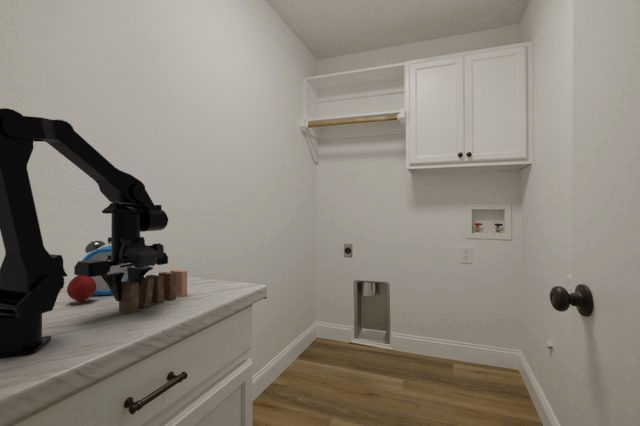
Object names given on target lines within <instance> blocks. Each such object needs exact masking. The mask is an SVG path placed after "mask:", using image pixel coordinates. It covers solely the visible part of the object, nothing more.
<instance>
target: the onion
mask: <svg viewBox="0 0 640 426" xmlns="http://www.w3.org/2000/svg"><path fill="white" fill-rule="evenodd" d="M95 290H96V283H95V281H94V279H93V278H91V277H86V276H80V275H75V276H74V277H73V278H72V279H71V280H70V281H69V283H68V284H67V288H66V292H67V295H68V296H69V298H71V299H72V300H73V301H76V302H79V303H85V302H86V301H87V300H88V299H89V298H91V297H93V296H92V295H93V294H94V292H95ZM94 295H95V294H94Z"/></svg>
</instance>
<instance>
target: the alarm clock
mask: <svg viewBox="0 0 640 426" xmlns="http://www.w3.org/2000/svg"><path fill="white" fill-rule="evenodd" d="M84 252H85V253H86V255H85V256H84V257H83V258H82V260H81V261H85V260H93V259H98V260H106V261H111V260H108V255H111V242H108V241H107V246H106V243H105V242H104V241H102V240H93V241H92V240H91V241H90V243H88V244H87V245H86V246H85V248H84ZM127 267H131V266H127ZM127 267H121V268H120V272H122V273H125V274H124V276H123V277H122V279H121V282H122V281H128V271H127ZM91 278H93V279H94V281H95V283H96V290H95V292H94V294H93V295H92V296H91V297H94V296H95V295H99V296H109V295H113V294H112V292H111V290H110V288H109V287H108V285H107V283H106V282H105V281H104V279H103V278H102V277H101V276H94V277H91Z"/></svg>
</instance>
